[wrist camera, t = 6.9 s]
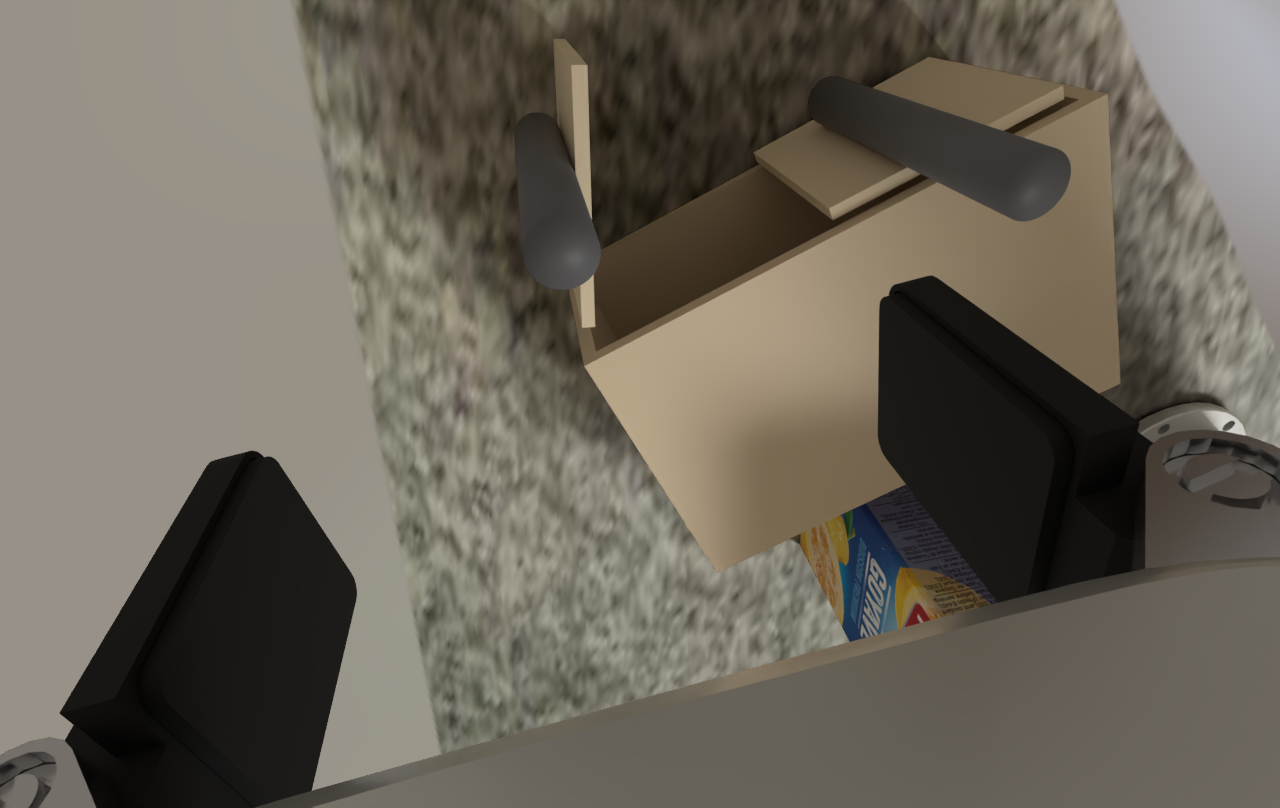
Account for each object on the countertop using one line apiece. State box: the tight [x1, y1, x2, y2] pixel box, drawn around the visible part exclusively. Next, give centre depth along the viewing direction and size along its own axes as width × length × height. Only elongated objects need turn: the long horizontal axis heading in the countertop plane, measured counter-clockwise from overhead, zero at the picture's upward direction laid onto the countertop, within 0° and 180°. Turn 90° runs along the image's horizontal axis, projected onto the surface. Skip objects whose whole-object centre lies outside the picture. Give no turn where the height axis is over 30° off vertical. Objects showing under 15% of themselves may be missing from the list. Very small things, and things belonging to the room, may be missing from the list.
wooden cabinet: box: [569, 61, 1121, 573], centre depth 33 cm, size 14×21×10 cm, turn 116°
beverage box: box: [800, 484, 998, 642], centre depth 37 cm, size 7×11×22 cm, turn 5°
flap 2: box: [753, 57, 1071, 222], centre depth 25 cm, size 2×9×16 cm, turn 116°
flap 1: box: [514, 39, 601, 328], centre depth 24 cm, size 2×9×16 cm, turn 179°
